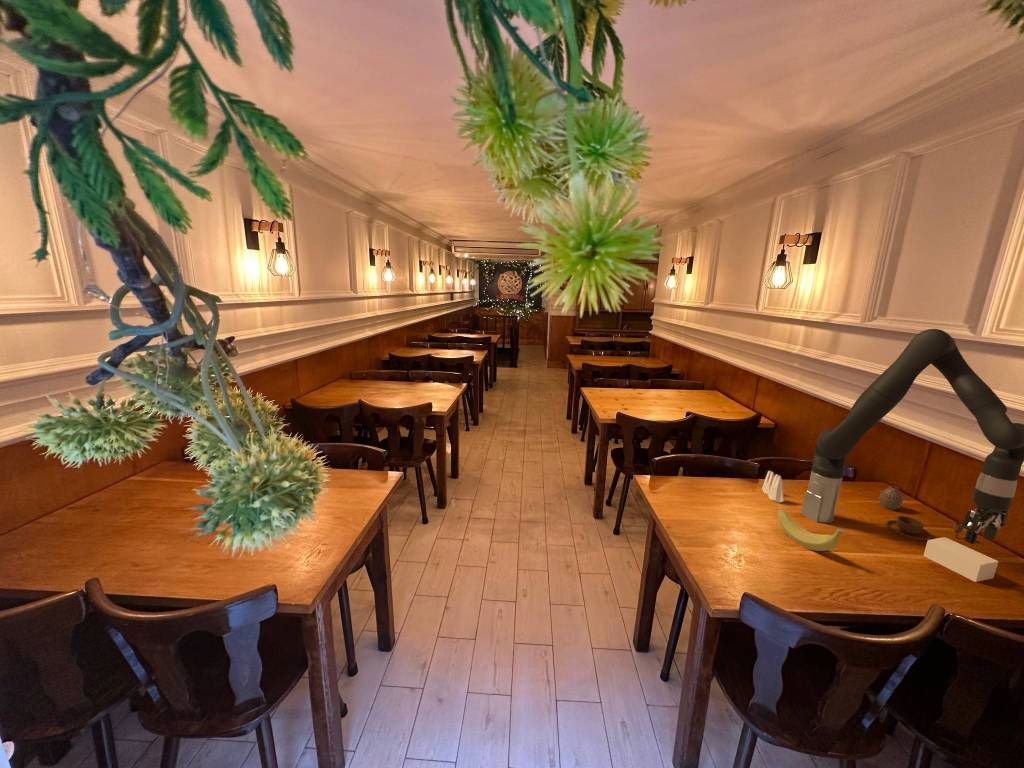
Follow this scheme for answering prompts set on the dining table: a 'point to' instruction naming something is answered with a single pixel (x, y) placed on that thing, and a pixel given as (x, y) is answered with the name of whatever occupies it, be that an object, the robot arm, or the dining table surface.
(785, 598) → the dining table surface
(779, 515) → the banana
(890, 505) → the grey rounded lump
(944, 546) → the block
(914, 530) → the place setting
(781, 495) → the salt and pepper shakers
